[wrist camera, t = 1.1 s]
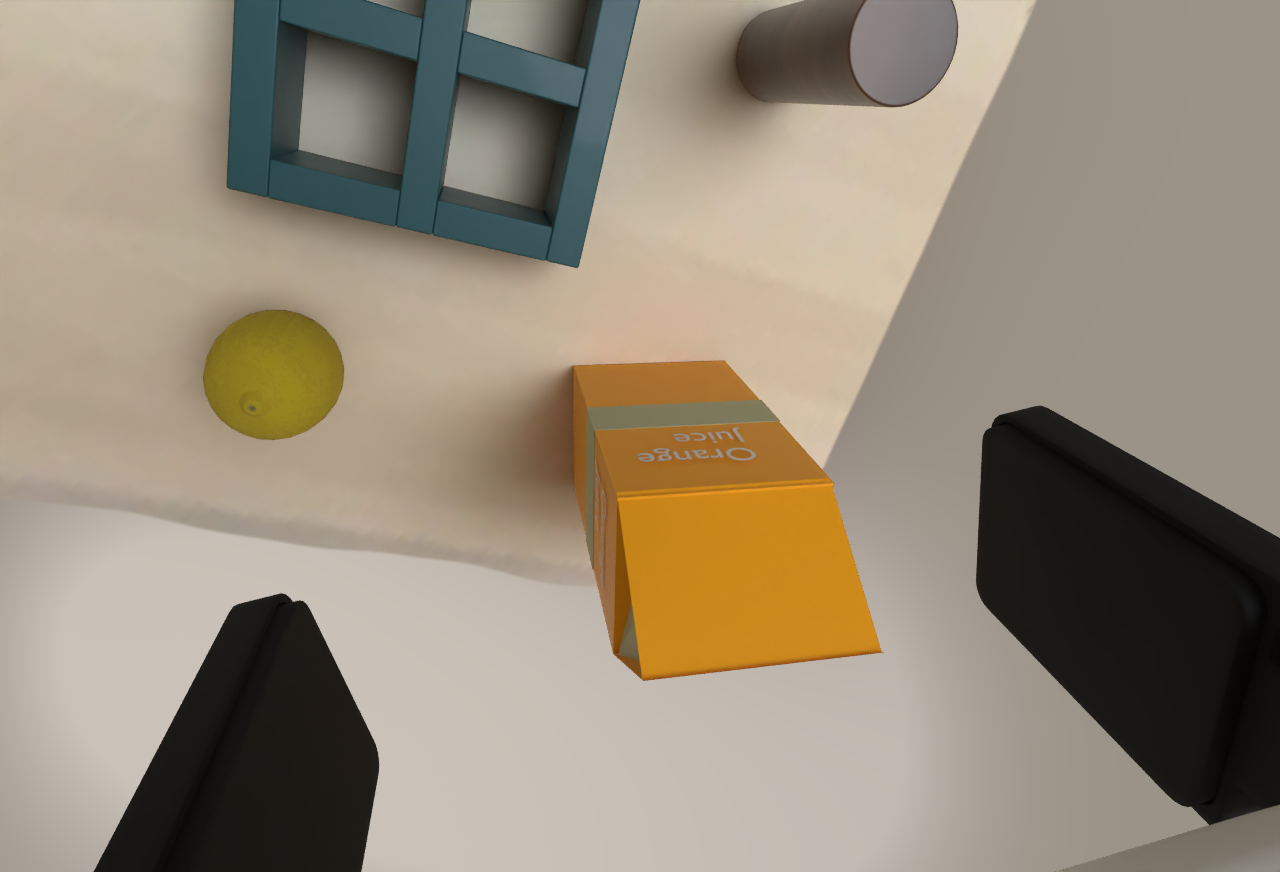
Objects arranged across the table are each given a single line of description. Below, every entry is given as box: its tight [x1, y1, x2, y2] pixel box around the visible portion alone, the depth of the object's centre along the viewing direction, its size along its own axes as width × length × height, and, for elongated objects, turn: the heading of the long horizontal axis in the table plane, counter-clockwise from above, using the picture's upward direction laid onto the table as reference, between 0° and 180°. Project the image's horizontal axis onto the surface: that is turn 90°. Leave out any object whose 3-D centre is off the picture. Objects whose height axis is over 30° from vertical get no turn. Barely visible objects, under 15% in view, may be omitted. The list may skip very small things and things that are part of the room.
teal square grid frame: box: [227, 0, 640, 268], centre depth 30 cm, size 14×14×5 cm
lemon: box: [203, 310, 344, 440], centre depth 33 cm, size 6×6×8 cm
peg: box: [737, 0, 958, 107], centre depth 30 cm, size 4×4×12 cm
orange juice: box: [574, 361, 882, 681], centre depth 33 cm, size 8×9×20 cm
